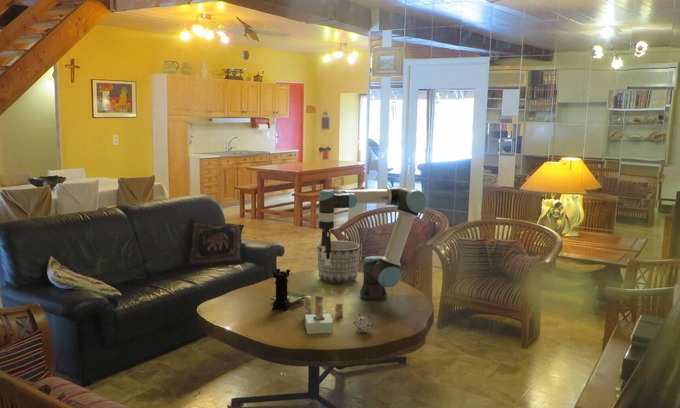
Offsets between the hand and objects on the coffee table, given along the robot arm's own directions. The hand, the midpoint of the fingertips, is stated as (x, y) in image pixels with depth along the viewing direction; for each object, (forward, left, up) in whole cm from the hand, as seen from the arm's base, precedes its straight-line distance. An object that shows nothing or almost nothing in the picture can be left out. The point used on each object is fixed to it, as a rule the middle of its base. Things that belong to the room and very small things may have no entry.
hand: (325, 261), depth 301 cm
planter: (-15, -57, -27) cm, 65 cm away
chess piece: (+22, -9, -27) cm, 36 cm away
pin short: (-6, +8, -27) cm, 29 cm away
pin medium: (+10, +8, -27) cm, 30 cm away
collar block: (+6, +23, -27) cm, 36 cm away
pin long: (+6, +23, -27) cm, 36 cm away
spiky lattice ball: (-14, +30, -27) cm, 43 cm away
